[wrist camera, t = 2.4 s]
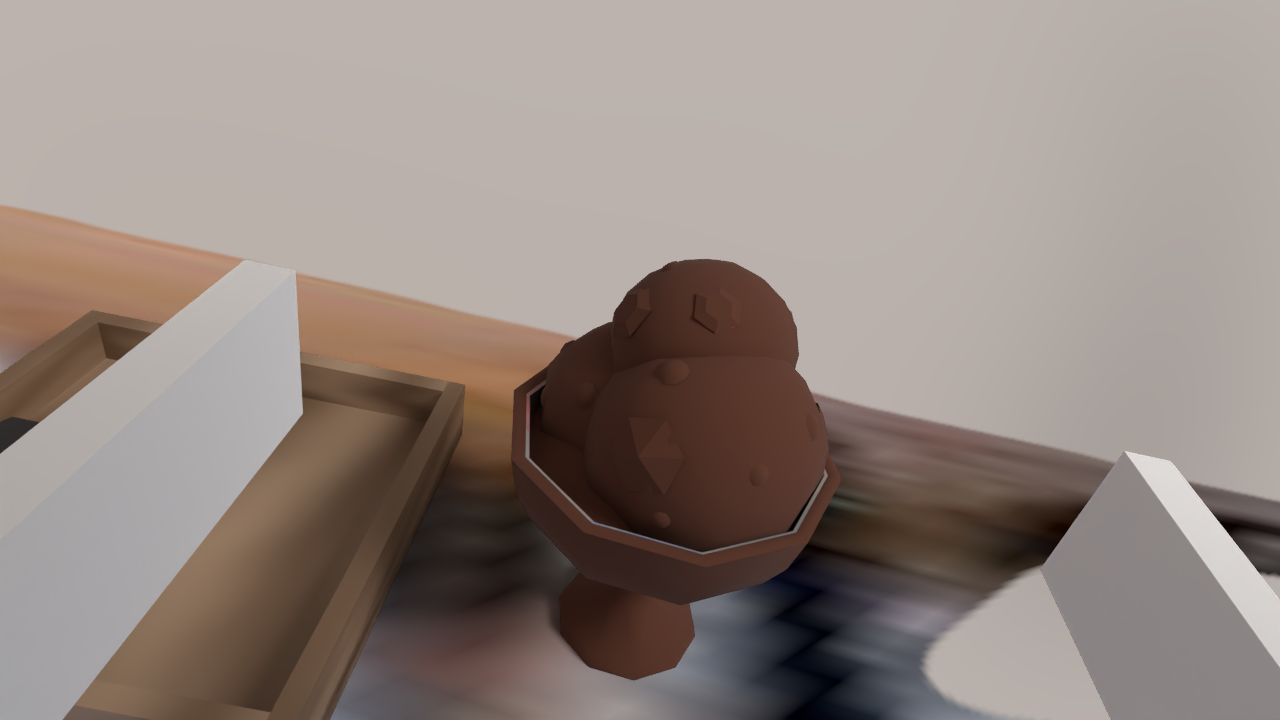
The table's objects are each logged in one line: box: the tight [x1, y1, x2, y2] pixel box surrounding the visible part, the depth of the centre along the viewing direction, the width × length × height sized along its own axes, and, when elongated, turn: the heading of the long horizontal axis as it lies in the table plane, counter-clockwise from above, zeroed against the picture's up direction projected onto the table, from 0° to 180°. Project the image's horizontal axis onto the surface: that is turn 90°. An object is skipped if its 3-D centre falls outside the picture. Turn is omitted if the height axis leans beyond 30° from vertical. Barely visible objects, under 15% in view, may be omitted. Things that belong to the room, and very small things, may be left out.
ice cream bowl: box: [511, 259, 841, 680], centre depth 26 cm, size 11×11×15 cm
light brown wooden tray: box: [0, 310, 465, 720], centre depth 29 cm, size 18×18×3 cm
